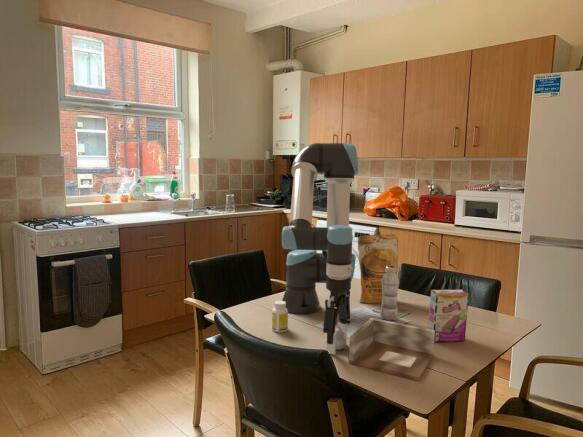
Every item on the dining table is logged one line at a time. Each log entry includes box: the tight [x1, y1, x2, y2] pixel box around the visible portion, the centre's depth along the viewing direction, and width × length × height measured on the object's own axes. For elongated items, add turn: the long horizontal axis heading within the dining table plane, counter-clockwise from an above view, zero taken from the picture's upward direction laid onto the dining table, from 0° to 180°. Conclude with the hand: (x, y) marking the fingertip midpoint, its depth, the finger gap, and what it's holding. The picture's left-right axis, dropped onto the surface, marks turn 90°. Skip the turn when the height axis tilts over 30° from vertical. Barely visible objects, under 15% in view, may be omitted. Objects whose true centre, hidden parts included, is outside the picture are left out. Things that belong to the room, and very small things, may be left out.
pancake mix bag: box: [357, 234, 399, 304], centre depth 182 cm, size 7×19×28 cm, turn 103°
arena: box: [348, 317, 435, 382], centre depth 128 cm, size 20×18×8 cm
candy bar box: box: [427, 289, 470, 343], centre depth 143 cm, size 11×5×16 cm, turn 97°
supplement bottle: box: [271, 300, 289, 333], centre depth 149 cm, size 5×5×10 cm
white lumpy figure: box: [335, 324, 347, 351], centre depth 135 cm, size 5×7×8 cm
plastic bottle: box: [379, 266, 400, 322], centre depth 160 cm, size 6×7×20 cm
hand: (336, 348), depth 135 cm, fingers open, 8 cm apart
